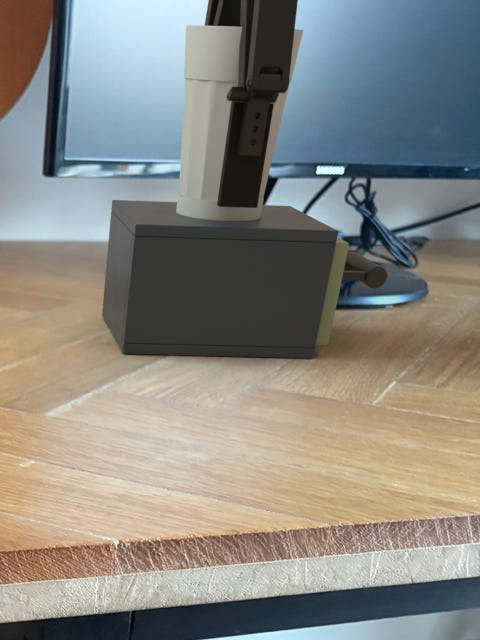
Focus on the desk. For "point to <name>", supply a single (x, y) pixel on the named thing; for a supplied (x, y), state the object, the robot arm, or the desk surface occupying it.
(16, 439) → the desk surface
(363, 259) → the drawer
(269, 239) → the cabinet
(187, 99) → the cup
